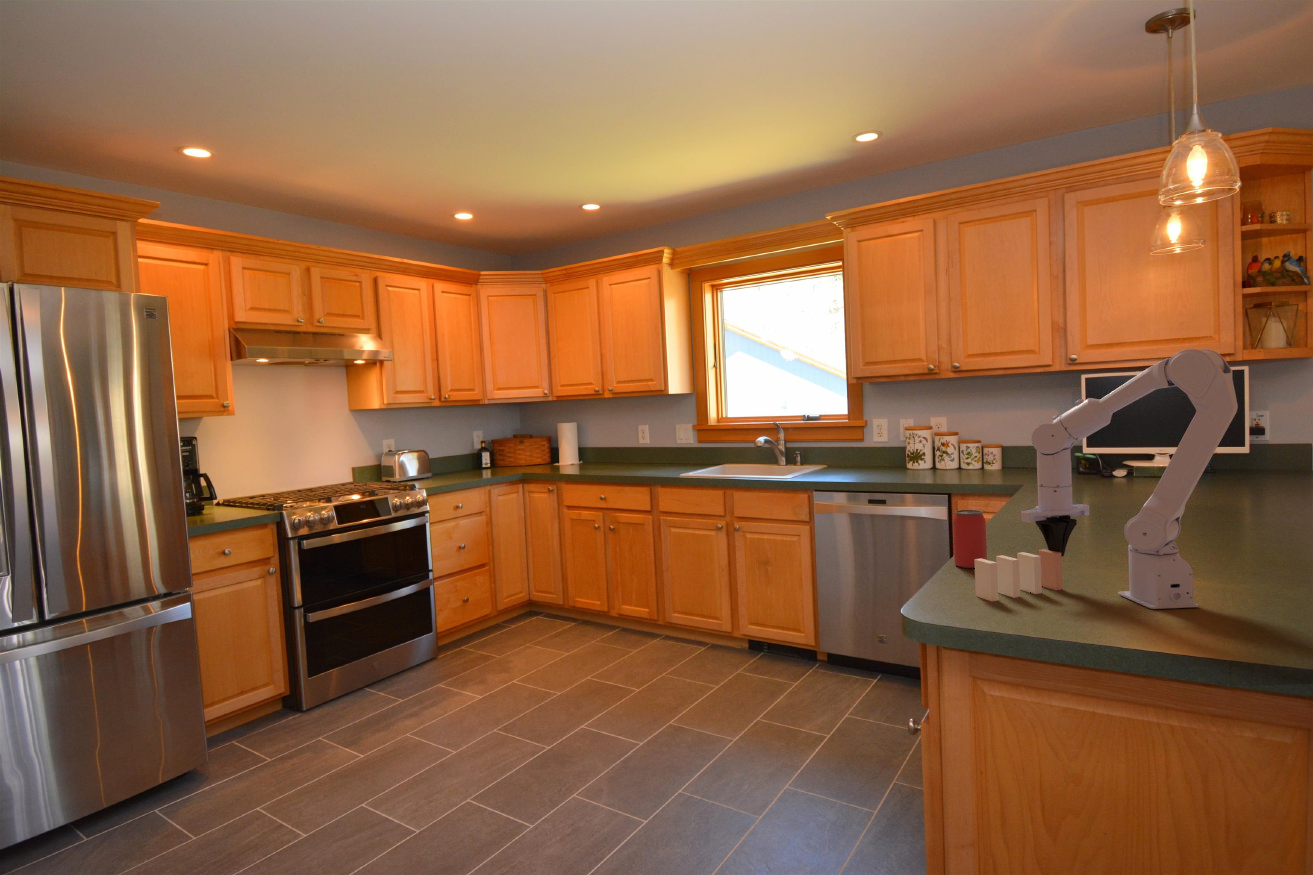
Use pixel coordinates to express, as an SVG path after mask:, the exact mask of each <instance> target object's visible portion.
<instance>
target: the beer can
mask: <svg viewBox="0 0 1313 875" xmlns="http://www.w3.org/2000/svg"><path fill="white" fill-rule="evenodd" d="M986 525H987V521H986V519H985V516H984V514H983V511H982V510H977V509H961V510H959V509H958V510H955V512H954V516H953V521H952V529H953V530H952V531H953V533H952V536H953V559H954V558H955V559H954V565H955V566H957V567H958V568H964V569H969V568H972V569H971V570H974V569H973V568H975V562H974V559H980V558H981V559H985V560H988V551H987V529H986V528H987V526H986Z"/></svg>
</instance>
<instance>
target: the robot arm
mask: <svg viewBox="0 0 1313 875" xmlns="http://www.w3.org/2000/svg"><path fill="white" fill-rule="evenodd" d="M1173 387H1175V388H1176V387H1177V388H1179V389H1180V390H1181V391H1182V392H1184V393H1185V394H1186V396H1187V398H1188V399H1189V401H1190V402H1191V404H1192V405H1193V407H1194V408H1195V413H1194V416H1193V418H1192V419H1191V421H1190V423H1189V425H1188V427H1187V429H1186V430H1185V432H1184V434H1183V436H1182V438H1181V440H1180V441H1179V443H1178V446H1177V447H1176V449H1175V451H1174V453H1173V454H1172V456H1171V459H1170V461H1169V462H1168V464H1167V466H1166V468H1165V470H1164V472H1163V473H1162V475H1161V478H1160V479H1159V481H1158V483H1157V485H1156V487H1155V488H1154V490H1153V492H1152V494H1151V496H1150V497H1149V498H1148V499H1147V500H1146V502H1145V503H1144V504H1143V506H1142V507H1141V509H1140V511H1139V513H1138V514H1137V515H1135V516H1133V517H1131V518H1130V519H1128V521H1127V522H1126V524H1125V525H1124V528H1123V534H1124V538H1125V540H1126V542H1127V543H1128V548H1127V549H1128V578H1129V579H1128V580H1129V581H1128V585H1129V586H1128V587H1129V590H1125V591H1124V590H1123V591H1118V593H1117V594H1118V595H1119V596H1121V597H1124V598H1126V599H1129V600H1131V601H1133V602H1134V603H1137V604H1139V605H1142V606H1144V607H1145V608H1148V609H1151V610H1157V609H1158V610H1161V609H1180V608H1185V609H1186V608H1199V607H1200V604H1199V603H1197V602H1194V571H1193V569H1192V567H1191V564H1189V562H1187V560H1185V559H1183V558H1182V557H1181V555H1180V552H1179V550H1180V549H1179V546H1178V545H1177V543H1176V542H1175V540H1176V539H1177V538H1178V537H1179V535H1180V534H1181V530H1182V526H1181V519H1182V516H1183V515H1184V513H1185V511H1186V510H1185V509H1186V504H1187V502H1188V500H1189V499H1190V496H1192V495H1191V494H1192V493H1193V491H1194V490H1195V488H1196V486H1197V485H1198V482H1199V481H1200V478H1201V477H1202V475H1203V473H1204V472H1205V469H1206V468H1207V466H1208V464H1209V463H1210V460H1211V459H1212V458H1213V455H1214V454H1215V452H1216V449H1217V448H1218V446H1219V445H1220V442H1221V441H1222V439H1223V437H1224V436H1225V434H1226V432H1227V430H1228V428H1229V427H1230V424H1232V421H1233V419H1234V418H1235V415H1236V414H1237V412H1238V408H1239V406H1238V402H1237V396H1236V390H1235V386H1234V379H1233V369H1232V368H1231V366H1230V365H1229V363H1228V362H1227V361H1226V360H1225V358H1224V357H1223V356H1222V355H1221V354H1220V353H1218V352H1217V351H1215V350H1212V349H1204V348H1203V349H1196V348H1186V349H1183V350H1181V351H1178V352H1177V353H1175V354H1174V355H1172V357H1170V358H1165V359H1162V360H1160V361H1158V362H1157V363H1155V364H1152V365H1151V366H1149V367H1148V368H1145V370H1142V371H1141V372H1140V373H1138V374H1136V375H1135V376H1134V377H1132V378H1131V379H1129V380H1127V381H1126V382H1125V383H1124V384H1122V385H1120V386H1119V387H1117V388H1116V389H1114V390H1112V391H1111V392H1110V393H1108V394H1107V395H1105V396H1103V397H1102V398H1101V399H1097V398H1092V397H1087V399H1083V398H1081V399H1078V400H1077V401H1075V402H1074V405H1075V406H1073V407H1072V408H1070V409H1069V410H1067V411H1065V412H1064V413H1062V414H1061V415H1059V414H1056V415H1054V416H1053V417H1051V418H1052V419H1051V420H1052V422H1045V423H1044V422H1043V423H1041V424H1039V425H1038V427H1036V428H1035V429H1034V430H1033V432H1032V434H1031V445H1032V446H1033V448H1034V449H1035V450H1036V469H1037V470H1036V471H1037V473H1036V474H1037V475H1036V476H1037V502H1038V505H1036V506H1035V507H1034V508H1032V509H1028V510H1021V512H1020V517H1021V518H1020V519H1021V521H1020V522H1024V523H1029V524H1032V523H1034V522H1035V524H1036V526H1037V528H1038V529H1039V531H1040V533H1041V534H1042V536H1043V538H1044V540H1045V544H1046V546H1047V550H1050V551H1055V552H1059V553H1061V558H1062V557H1064V556H1065V553H1066V549H1067V545H1068V543H1069V542H1068V541H1069V539H1070V536H1071V534H1072V533H1073V531H1074V529H1075V527H1076V526H1077V524H1078V523H1077V522H1078V520H1077V518H1076V519H1075V518H1072V517H1078V516H1090V505H1089V504H1082V503H1080V504H1073V483H1072V482H1073V480H1072V460H1071V457H1072V456H1071V450H1072V448H1073V447H1074V446H1075V443H1079V442H1081V441H1082V440H1083V439H1086V438H1087V437H1089V436H1091V435H1092V434H1094V433H1096V432H1098V431H1099V430H1102V428H1104V427H1106V426H1108V425H1109V424H1110V423H1111V420H1112V416H1113V413H1116V412H1117V411H1119V410H1121V409H1123V408H1124V407H1126V406H1129V405H1130V404H1132V403H1133V402H1135V401H1137V400H1139V399H1141V398H1144V397H1145V396H1147V395H1148V394H1151V393H1152V392H1154V391H1156V390H1159V389H1165V388H1173Z"/></svg>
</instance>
